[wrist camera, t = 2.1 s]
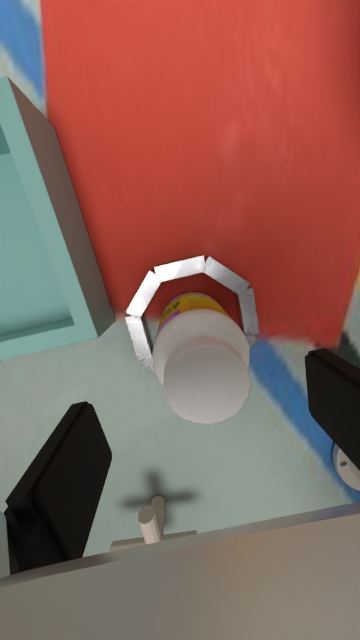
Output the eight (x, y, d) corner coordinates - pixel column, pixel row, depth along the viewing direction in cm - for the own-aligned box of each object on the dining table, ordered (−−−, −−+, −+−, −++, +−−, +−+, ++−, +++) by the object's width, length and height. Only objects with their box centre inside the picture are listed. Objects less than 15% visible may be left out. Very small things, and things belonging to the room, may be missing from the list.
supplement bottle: (174, 281, 23) (171, 305, 10) (232, 304, 24) (294, 352, 11) (152, 338, 24) (127, 418, 12) (207, 358, 25) (237, 452, 13)
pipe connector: (114, 477, 29) (83, 584, 20) (188, 467, 29) (194, 570, 19) (130, 531, 32) (110, 648, 22) (199, 522, 32) (208, 637, 22)
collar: (242, 245, 22) (246, 244, 21) (259, 362, 25) (264, 368, 24) (116, 276, 23) (112, 277, 21) (149, 386, 26) (148, 393, 24)
